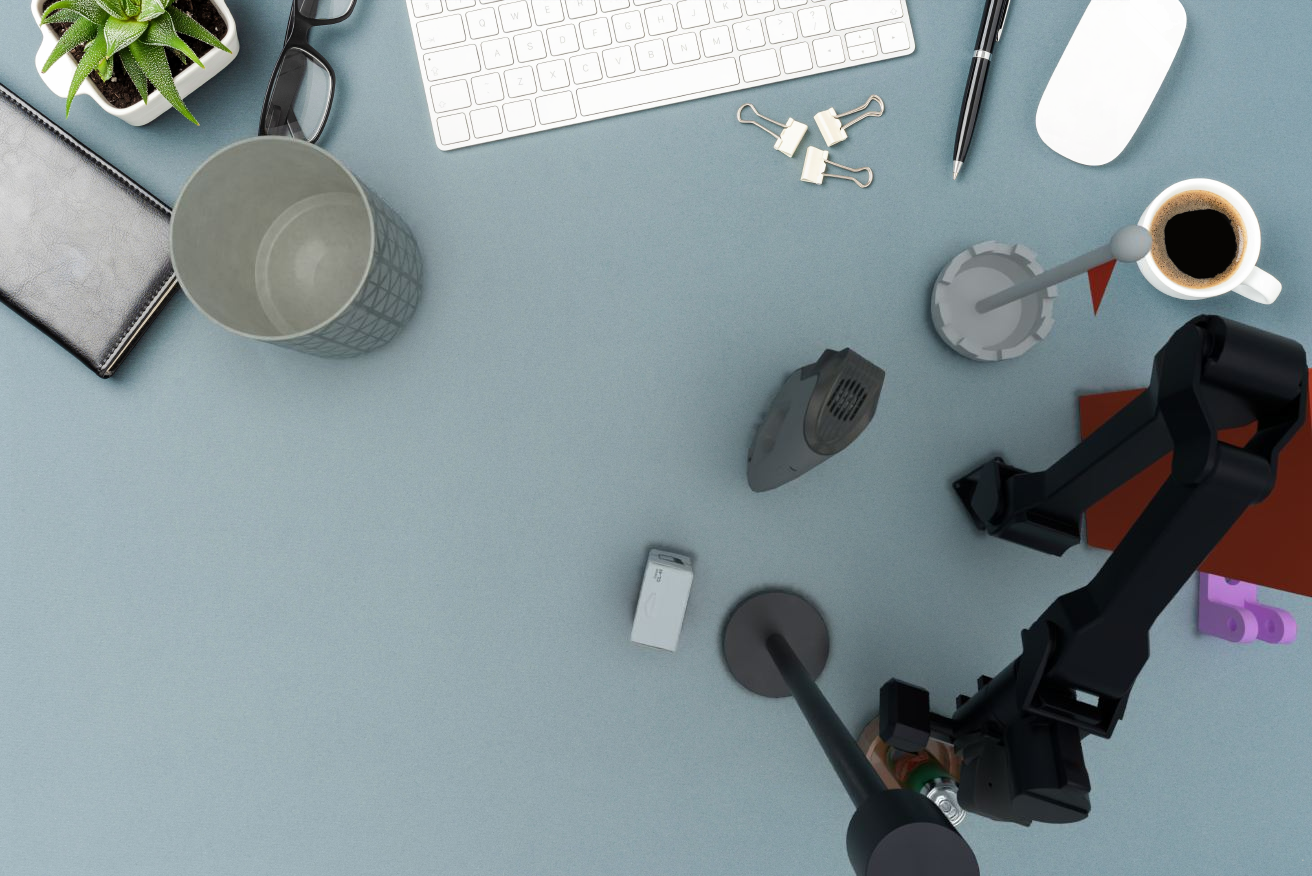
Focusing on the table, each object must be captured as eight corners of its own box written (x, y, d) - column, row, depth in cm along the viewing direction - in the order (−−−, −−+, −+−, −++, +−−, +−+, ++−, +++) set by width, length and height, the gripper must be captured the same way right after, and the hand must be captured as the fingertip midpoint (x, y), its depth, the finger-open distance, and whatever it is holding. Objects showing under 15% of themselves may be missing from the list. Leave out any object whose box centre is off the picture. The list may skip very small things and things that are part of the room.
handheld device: (839, 392, 89) (911, 371, 64) (768, 503, 89) (813, 524, 64) (794, 364, 89) (849, 331, 64) (724, 474, 89) (752, 485, 64)
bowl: (834, 739, 89) (843, 754, 85) (921, 687, 89) (934, 699, 85) (886, 826, 89) (897, 845, 84) (972, 774, 89) (988, 791, 85)
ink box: (674, 629, 89) (677, 657, 77) (631, 619, 89) (628, 645, 77) (691, 555, 89) (697, 571, 77) (648, 545, 89) (648, 560, 77)
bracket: (1246, 632, 89) (1296, 648, 82) (1198, 630, 89) (1244, 646, 82) (1249, 519, 89) (1299, 525, 82) (1201, 518, 89) (1247, 524, 82)
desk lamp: (703, 623, 89) (763, 839, 40) (792, 570, 89) (962, 720, 40) (756, 713, 89) (883, 1041, 40) (845, 659, 89) (1082, 921, 40)
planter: (258, 207, 89) (157, 146, 71) (421, 189, 89) (362, 124, 71) (275, 370, 89) (178, 350, 71) (439, 352, 89) (384, 328, 71)
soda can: (908, 726, 88) (948, 770, 76) (937, 760, 88) (982, 809, 76) (875, 755, 88) (910, 804, 76) (904, 789, 88) (943, 843, 76)
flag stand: (929, 245, 89) (1068, 143, 59) (1041, 260, 89) (1236, 167, 59) (914, 356, 89) (1046, 310, 59) (1026, 371, 89) (1214, 334, 59)
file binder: (1083, 545, 89) (1324, 600, 57) (1075, 396, 89) (1309, 368, 57) (1153, 541, 89) (1432, 594, 57) (1144, 392, 89) (1417, 362, 57)
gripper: (919, 758, 64) (845, 820, 75) (1132, 829, 64) (1027, 880, 75) (917, 644, 72) (850, 714, 83) (1106, 706, 72) (1015, 769, 83)
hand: (933, 769), depth 81 cm, fingers open, 9 cm apart
